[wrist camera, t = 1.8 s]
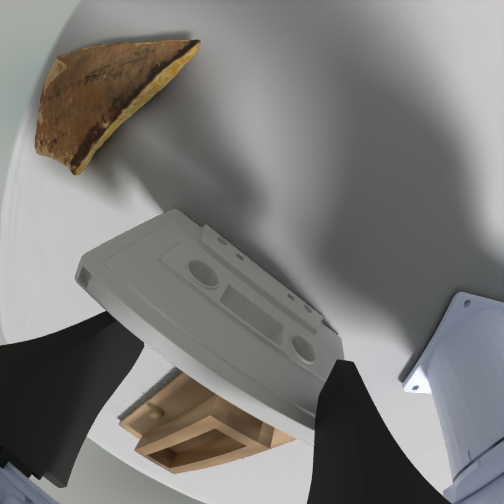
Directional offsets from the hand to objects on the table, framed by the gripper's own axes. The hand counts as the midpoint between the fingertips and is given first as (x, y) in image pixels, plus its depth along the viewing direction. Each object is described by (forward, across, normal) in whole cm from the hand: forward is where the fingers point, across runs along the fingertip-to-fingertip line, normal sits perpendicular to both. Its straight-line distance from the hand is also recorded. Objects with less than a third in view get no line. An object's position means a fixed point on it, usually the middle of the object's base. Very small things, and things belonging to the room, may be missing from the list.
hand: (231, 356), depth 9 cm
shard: (+8, +8, -13) cm, 17 cm away
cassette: (+6, 0, 0) cm, 6 cm away
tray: (+6, +3, +18) cm, 19 cm away
